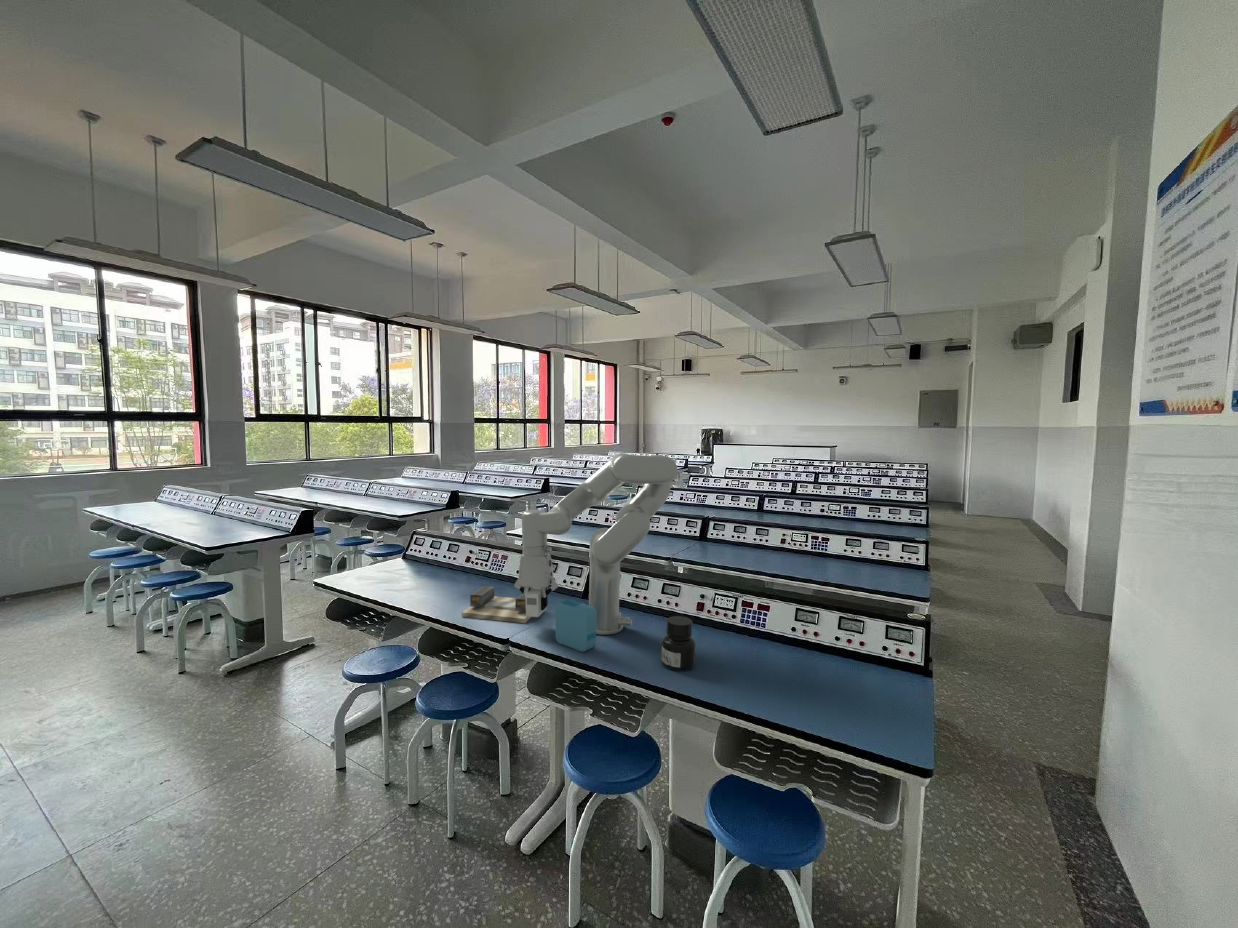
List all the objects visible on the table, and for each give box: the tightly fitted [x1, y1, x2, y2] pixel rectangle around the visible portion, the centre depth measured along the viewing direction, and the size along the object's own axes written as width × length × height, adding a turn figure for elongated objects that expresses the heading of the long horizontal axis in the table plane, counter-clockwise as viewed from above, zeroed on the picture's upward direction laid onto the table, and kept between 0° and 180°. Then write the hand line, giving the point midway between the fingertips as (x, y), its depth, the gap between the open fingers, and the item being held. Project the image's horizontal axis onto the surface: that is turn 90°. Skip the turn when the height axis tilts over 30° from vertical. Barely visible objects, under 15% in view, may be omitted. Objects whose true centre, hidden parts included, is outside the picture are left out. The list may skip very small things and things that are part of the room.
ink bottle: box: [661, 615, 696, 671], centre depth 135 cm, size 10×9×12 cm
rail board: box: [461, 585, 532, 624], centre depth 172 cm, size 22×18×6 cm
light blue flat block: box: [555, 598, 597, 653], centre depth 146 cm, size 12×4×12 cm, turn 52°
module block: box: [525, 588, 548, 618], centre depth 156 cm, size 4×8×7 cm, turn 169°
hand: (536, 607), depth 157 cm, fingers closed on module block, 4 cm apart
